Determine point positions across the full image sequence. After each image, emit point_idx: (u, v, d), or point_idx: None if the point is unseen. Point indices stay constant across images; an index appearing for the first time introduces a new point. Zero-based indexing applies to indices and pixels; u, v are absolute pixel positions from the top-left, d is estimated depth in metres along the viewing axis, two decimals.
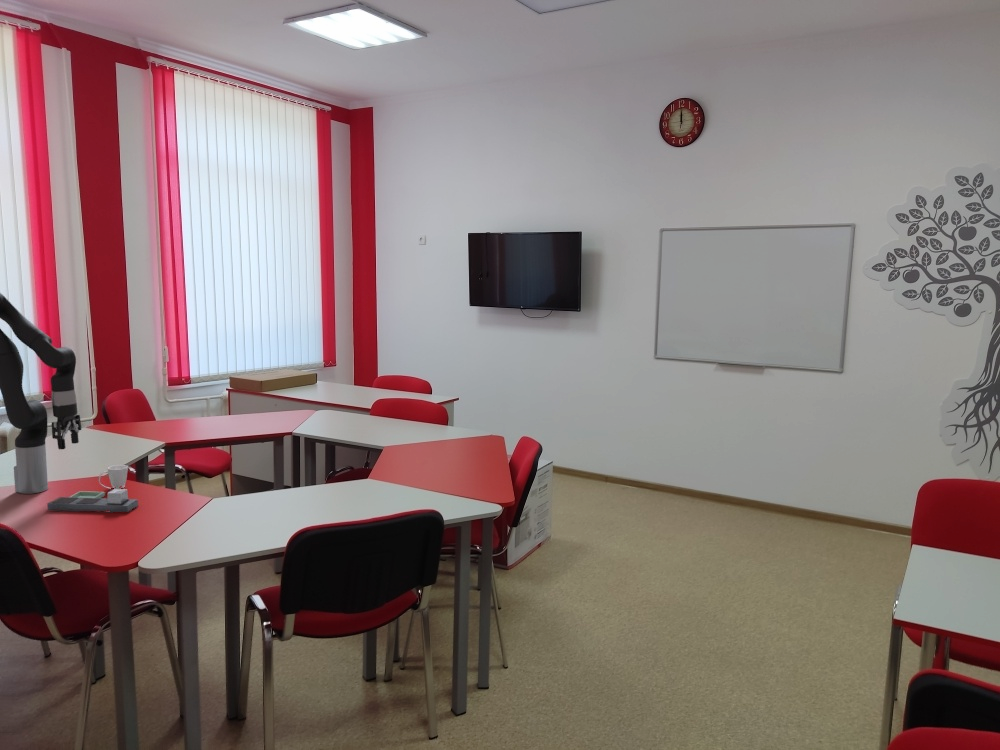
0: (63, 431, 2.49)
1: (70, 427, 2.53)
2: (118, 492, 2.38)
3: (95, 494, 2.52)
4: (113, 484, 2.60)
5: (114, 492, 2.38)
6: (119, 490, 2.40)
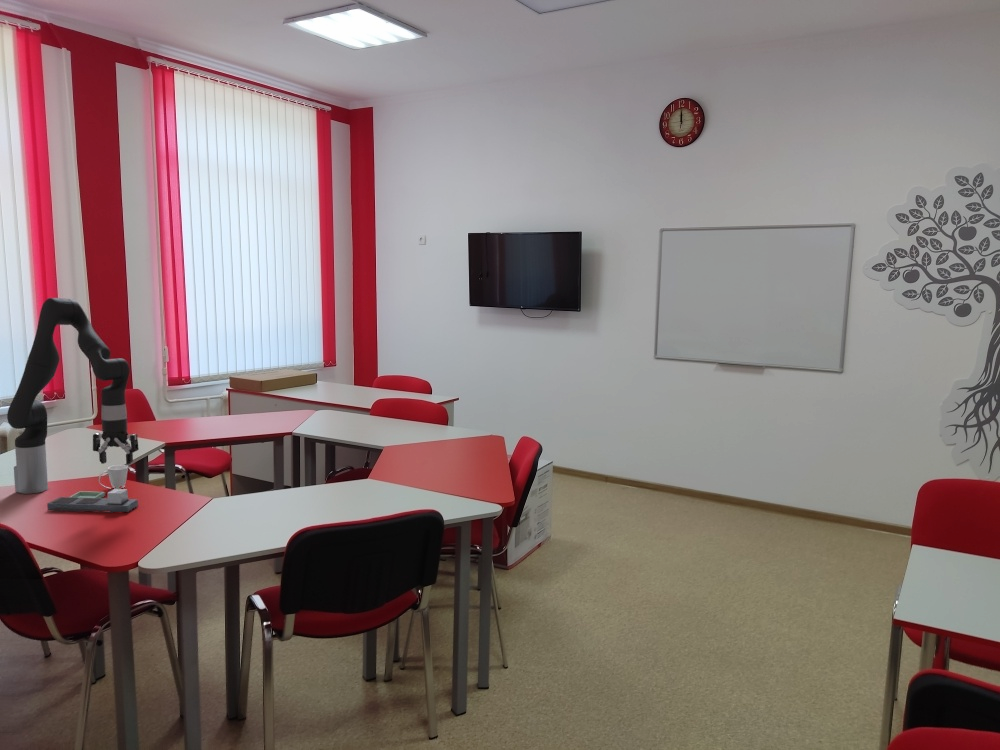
0: (128, 444, 2.38)
1: None
2: (118, 492, 2.38)
3: (95, 494, 2.52)
4: (113, 484, 2.60)
5: (114, 492, 2.38)
6: (119, 490, 2.40)
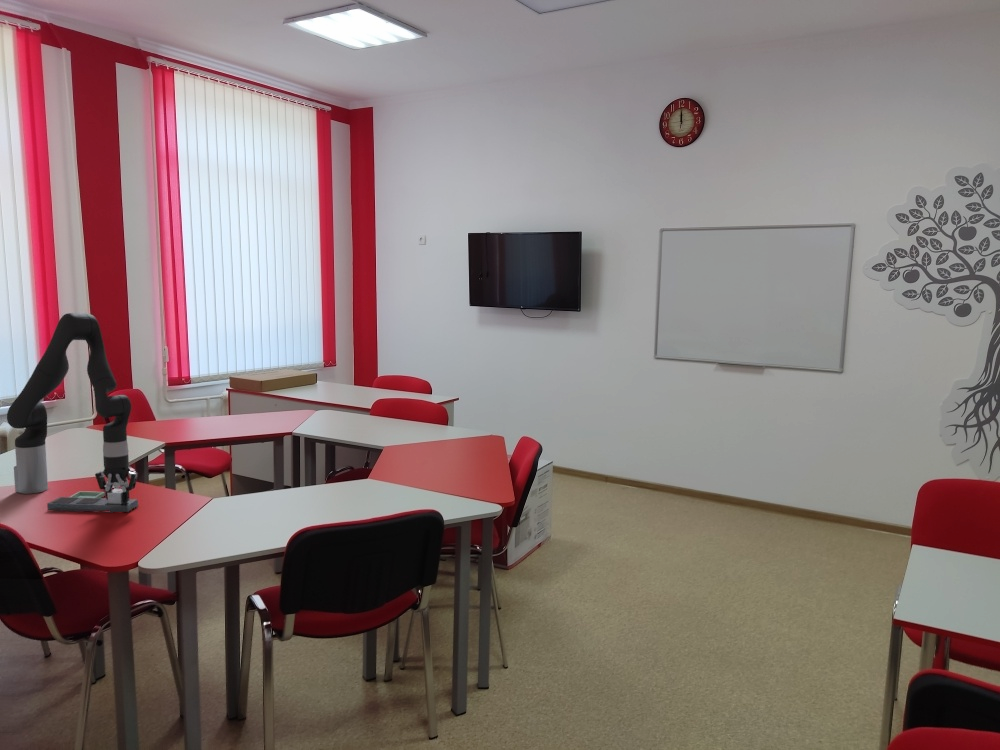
0: None
1: None
2: (118, 492, 2.38)
3: (95, 494, 2.52)
4: (113, 484, 2.60)
5: (114, 491, 2.38)
6: (119, 490, 2.40)
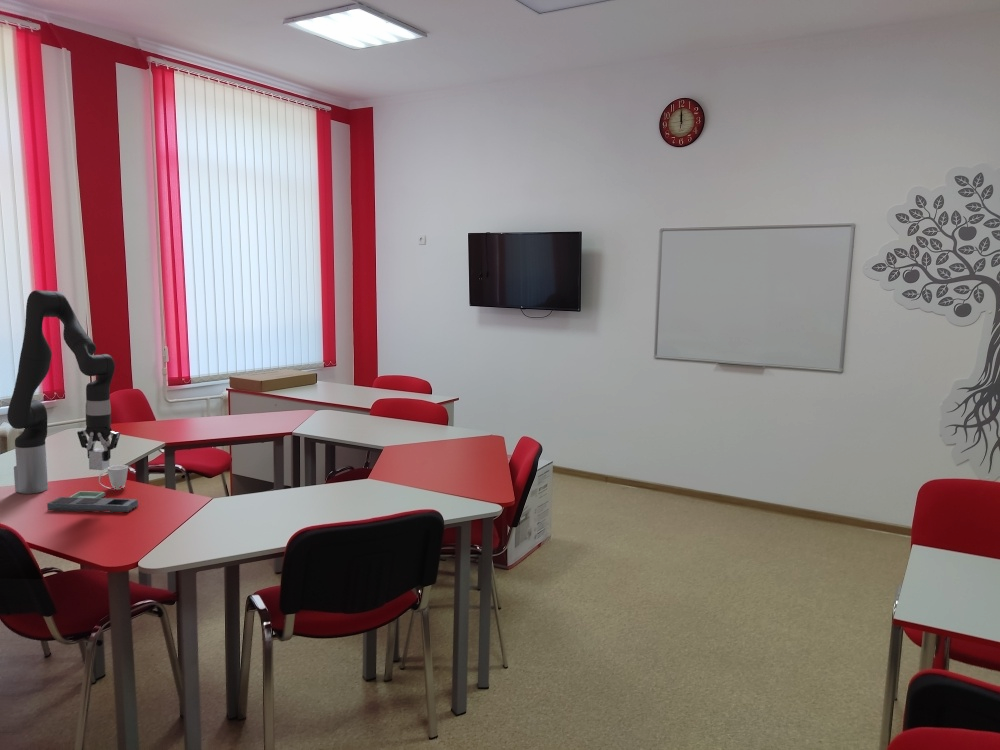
0: None
1: None
2: (99, 451, 2.40)
3: (95, 494, 2.52)
4: (113, 484, 2.60)
5: (95, 450, 2.40)
6: (101, 449, 2.42)
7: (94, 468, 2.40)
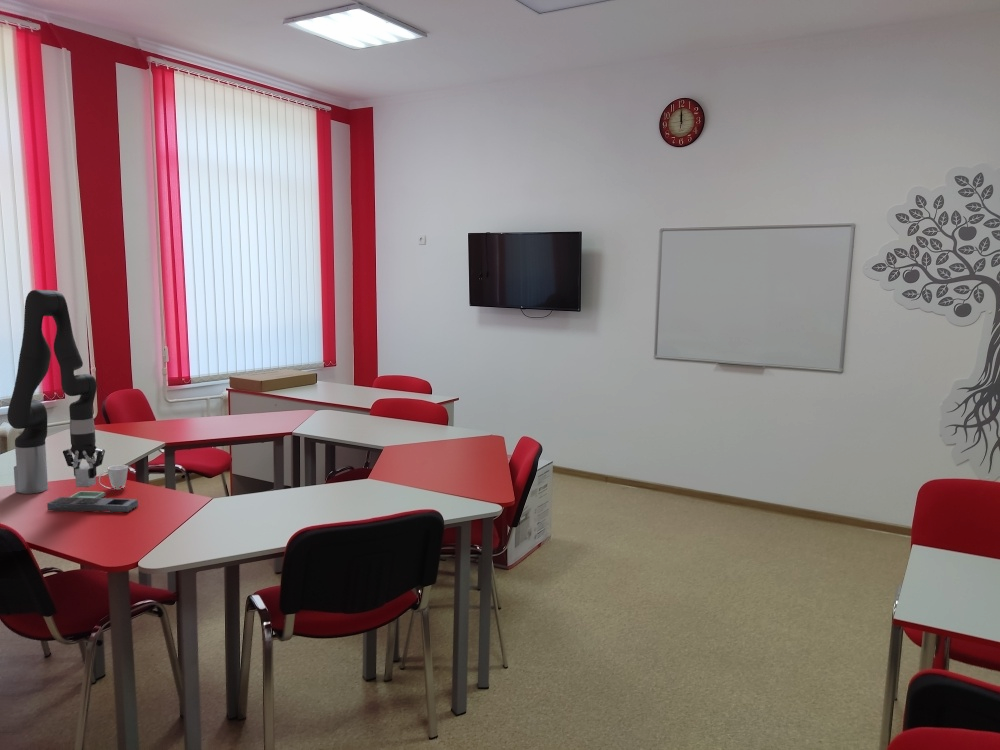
0: None
1: None
2: (85, 468, 2.45)
3: (95, 494, 2.52)
4: (113, 484, 2.60)
5: (81, 468, 2.46)
6: (87, 466, 2.48)
7: (81, 485, 2.45)
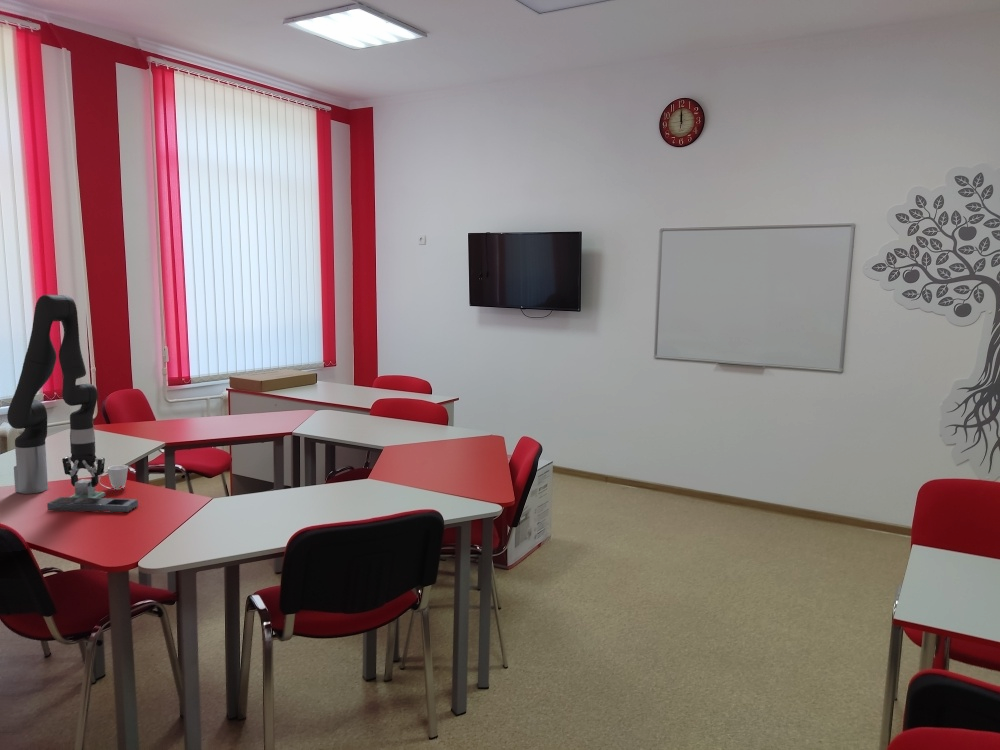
0: None
1: None
2: (85, 482, 2.46)
3: (95, 494, 2.52)
4: (113, 484, 2.60)
5: (81, 481, 2.46)
6: (87, 480, 2.48)
7: None
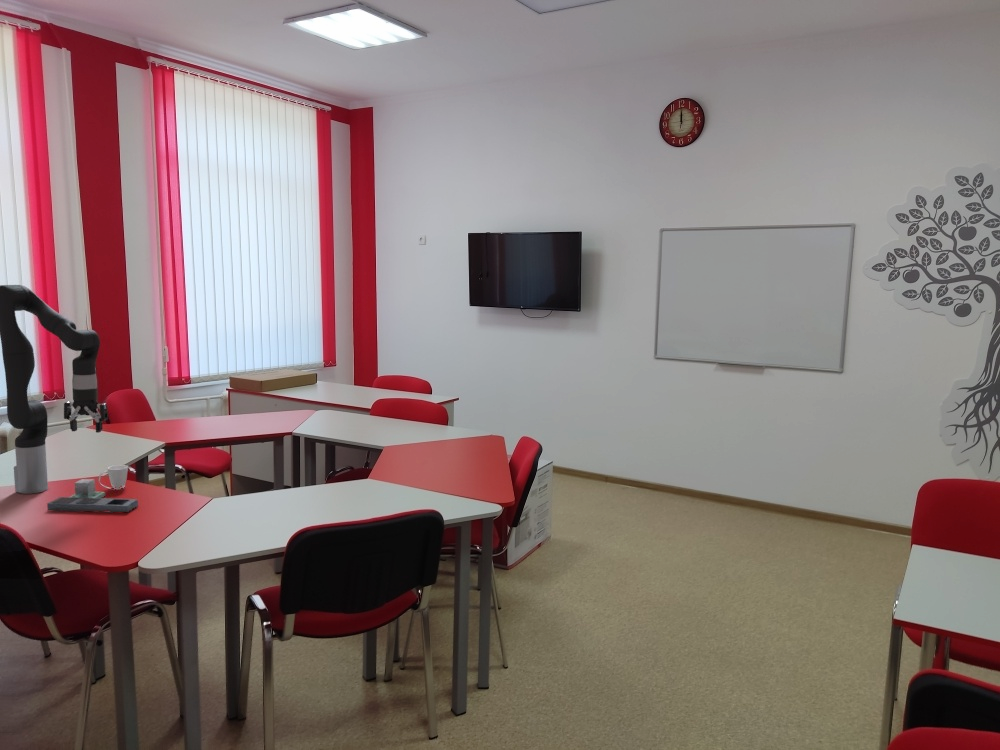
0: (98, 413, 2.47)
1: None
2: (85, 482, 2.46)
3: (95, 494, 2.52)
4: (113, 484, 2.60)
5: (81, 481, 2.46)
6: (87, 480, 2.48)
7: None
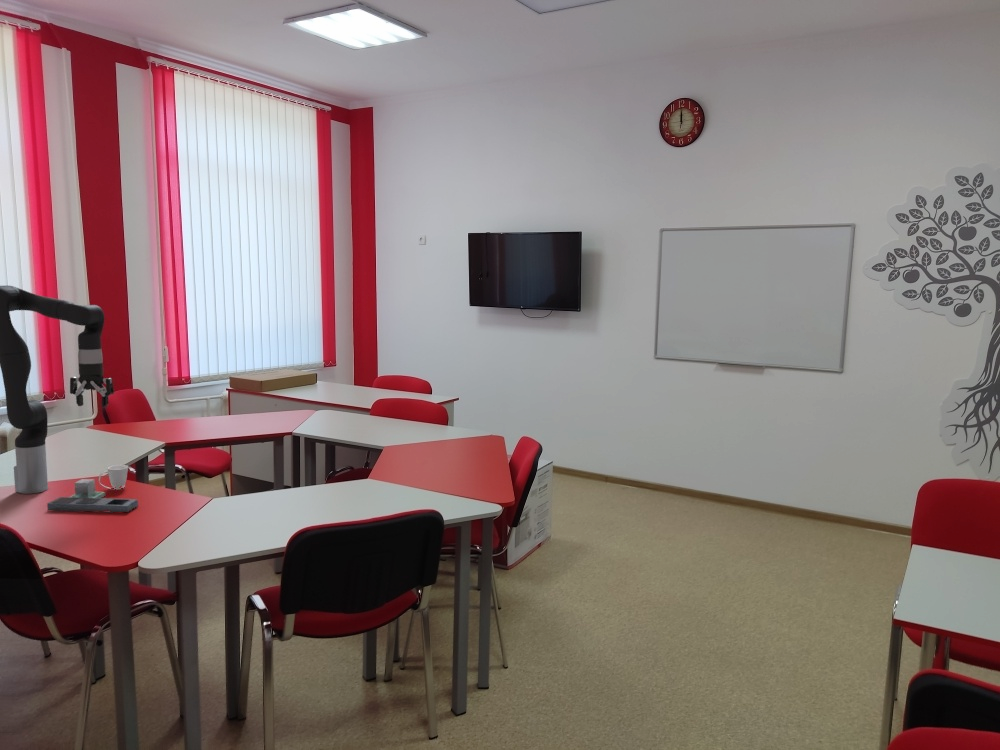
0: (104, 388, 2.49)
1: None
2: (85, 482, 2.46)
3: (95, 494, 2.52)
4: (113, 484, 2.60)
5: (81, 481, 2.46)
6: (87, 480, 2.48)
7: None
